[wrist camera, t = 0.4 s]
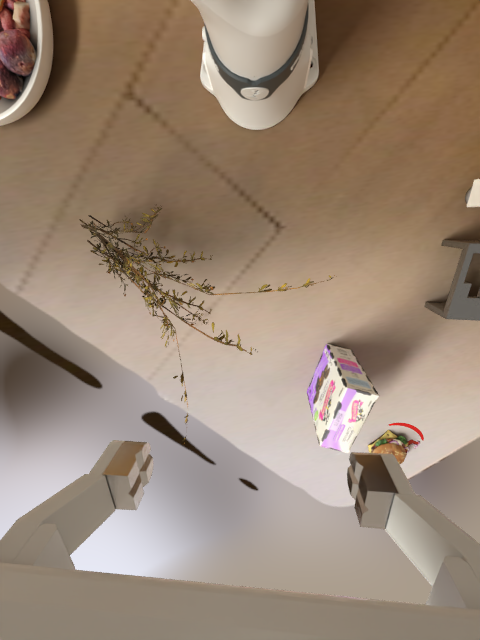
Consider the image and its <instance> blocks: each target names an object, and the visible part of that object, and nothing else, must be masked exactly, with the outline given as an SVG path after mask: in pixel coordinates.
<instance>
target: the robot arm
mask: <svg viewBox="0 0 480 640" xmlns="http://www.w3.org/2000/svg"><path fill="white" fill-rule="evenodd" d="M191 1H192V2H193V3H194V4H195V5H196V7H197V8H198V9H199V11H200V14H201V16H202V18H203V20H204V24H205V26H204V27H203V30H202V37H203V40H204V49H203V57H202V65H201V73H200V78H201V82H202V84H203V86H204V87H205V88H206V89H207V90H208V91H209V92H211V93H212V94H213V95H214V96H215V97H216V98H217V99H218V101H219V103H220V105H221V107H222V108H223V110H224V112H225V113H226V114H227V115H228V117H229V118H230V119H231V120H233V121H234V122H235V123H236V124H238V125H240V126H242V127H244V128H247V129H253V130H261V129H266V128H269V127H272V126H274V125H276V124H277V123H279V122H280V121H282V120H283V119H284V118H285V117H286V116H287V115H288V114H289V113H290V112H291V110H292V109H293V107H294V106H295V104H296V103H297V101H298V99H299V98H300V96H301V95H302V94H303V93H304V92H306V91H307V90H308V89H310V88H311V87H312V86H313V85H314V84H315V83H316V81H317V79H318V75H319V65H318V49H317V33H316V17H315V1H314V0H191ZM311 64H312V65H313V67H312V68H310V65H311ZM150 450H151V448H150V444H149V443H146V442H133V441H117V440H114V441H112V442H111V443H110V444H109V445H108V447H107V448H106V450H105V451H104V452H103V454H102V455H101V457H100V458H99V460H98V461H97V463H96V464H95V466H94V467H93V469H92V470H91V471H90V473H89V474H85V475H83V476H82V477H80V478H79V479H77V480H76V481H74V482H73V483H71V484H70V485H68V486H67V487H65V488H64V489H62V490H61V491H59V492H58V493H56V494H55V495H53V496H52V497H51V498H49V499H47V500H46V501H44V502H43V503H42V504H40V505H39V506H37V507H35V508H34V509H32V510H31V511H29V512H28V513H27V514H25V515H24V516H22V517H21V518H19V519H18V520H17V521H16V522H15V523H14V524H13V526H12V527H11V528H10V529H9V531H8V532H7V533H6V534H5V536H4V537H3V538H2V539H1V540H0V640H480V544H479V543H478V542H477V541H476V540H475V539H473V538H472V537H471V536H470V535H468V534H467V533H466V532H465V531H463V530H462V529H461V528H460V527H459V526H457V525H456V524H455V523H454V522H452V521H451V520H450V519H448V517H446V516H445V515H444V514H442V513H441V512H440V511H439V510H438V509H437V508H435V507H434V506H433V505H432V504H430V503H429V502H428V501H427V500H425V499H424V498H423V497H422V496H421V495H416V494H415V493H414V491H413V489H412V487H411V485H410V483H409V481H408V479H407V478H406V476H405V474H404V472H403V470H402V468H401V467H400V465H399V463H398V461H397V459H396V457H395V456H394V455H393V454H380V453H379V454H377V453H357V452H351V454H350V458H349V460H350V463H351V466H350V467H349V468H348V471H347V481H348V487H349V491H350V494H351V496H352V497H353V498H354V499H355V500H356V501H355V507H354V508H355V511H356V514H357V517H358V520H359V524H360V527H368V528H379V529H386V530H385V531H386V532H387V533H388V534H389V536H390V537H391V538H392V539H393V540H394V541H395V543H396V544H397V545H398V546H399V547H400V549H401V550H402V551H403V552H404V553H405V554H406V556H407V557H408V558H409V559H410V560H411V562H412V563H413V564H414V565H415V566H416V568H417V569H418V570H419V571H420V572H421V574H422V575H423V576H424V577H425V578H426V580H427V581H428V582H429V583H430V584H431V586H432V590H431V592H430V595H429V597H428V600H427V602H426V604H415V603H406V602H395V601H385V600H375V599H365V598H354V597H344V596H335V595H325V594H315V593H304V592H295V591H284V590H274V589H264V588H254V587H244V586H234V585H224V584H213V583H202V582H193V581H182V580H173V579H162V578H153V577H142V576H132V575H122V574H111V573H102V572H92V571H82V570H75V567H74V564H73V562H72V560H71V557H70V555H71V554H72V553H73V552H74V551H75V550H76V549H77V548H78V547H79V546H80V545H81V544H82V543H83V542H84V541H85V540H86V539H87V538H88V537H89V536H90V535H91V534H92V533H93V532H94V531H95V530H96V529H97V528H98V527H99V526H100V525H101V524H102V523H103V522H104V521H105V520H106V519H107V518H108V517H109V516H110V515H111V514H112V513H113V512H114V511H115V509H124V510H125V509H126V510H137V508H138V506H139V503H140V501H141V499H142V497H143V494H144V492H143V487H144V486H145V485H146V484H147V483H149V480H150V478H151V476H152V471H153V458H152V456H151V455H150V454H149V452H150Z"/></svg>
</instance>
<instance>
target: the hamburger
mask: <svg viewBox="0 0 480 640" xmlns="http://www.w3.org/2000/svg"><path fill="white" fill-rule="evenodd" d="M391 425H400V426H405V427H409V428H411V429H413V430H414V431H416V432H417V433H418V434H419V435H420V437H421V439H422V440H423V439H424V438H423V434H422V433H421V431H420V430H419V429H417V428H416V427H414V426H412V425H410V424H406V423H393V424H389V426H391ZM388 432H389V433H388ZM387 434H389V436H388V435H387ZM412 443H413V444H412ZM408 444H409V445H410V444H412V445H416V444H417V445H416V447H417V446H418V445H419V444H420V442H419V441H417V442H416V441H413V440H410V441H408V442H407V440H406V438H405V437H403V436H401V435H400V436H399V437H398V436H396V435H394V434H393V433H391V432H390V431H389V430H388V431H387V432H386V433H385V434H384V435H383V436H382V437H381V438H380V439H378V440H377V441H376V442H374V443H373V444H372V445H368V448H369V452H370V453H377V454H379V453H380V454H393V455H394V456H395V457H396V459H397V461H398V463H399V464H402V462H404V459H405V457H406V455H407V454H406V453H407V452H408V451H409V448H408V447H407V446H408ZM416 447H414V448H416Z"/></svg>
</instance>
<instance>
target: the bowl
mask: <svg viewBox="0 0 480 640" xmlns="http://www.w3.org/2000/svg"><path fill="white" fill-rule="evenodd" d="M52 60H53V28H52V20H51V14H50V9H49V4H48V0H0V126H1V125H6V124H9V123H12V122H14V121H16V120H18V119H20V118H22V117H23V116H24V115H26V114H27V113H28V112H29V111H30V110H31V109H32V108H33V107H34V106H35V105H36V104H37V102H38V101H39V99H40V98H41V96H42V94H43V92H44V90H45V88H46V85H47V82H48V79H49V76H50V72H51V67H52Z"/></svg>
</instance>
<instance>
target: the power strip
mask: <svg viewBox="0 0 480 640" xmlns="http://www.w3.org/2000/svg"><path fill="white" fill-rule="evenodd" d="M465 201H466V203H467V207H480V179H476V180H474V183H473V186H472V187H471V188H470V189H469V190H468V191H467V193H466V196H465Z"/></svg>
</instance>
